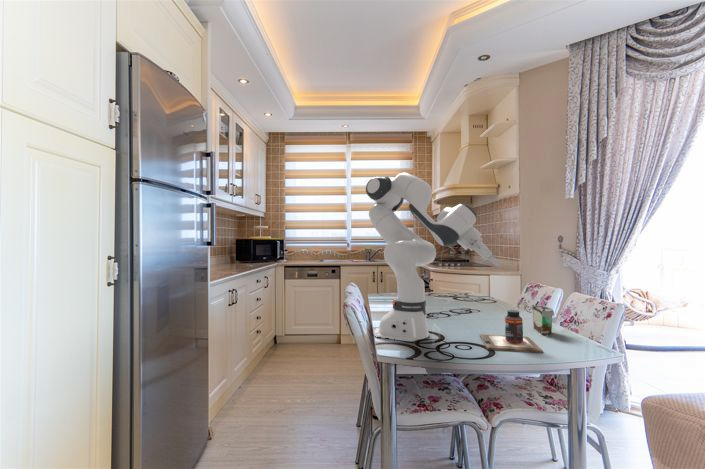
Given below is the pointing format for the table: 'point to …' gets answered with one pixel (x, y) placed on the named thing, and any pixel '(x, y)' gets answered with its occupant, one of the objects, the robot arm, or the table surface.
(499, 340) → the clipboard
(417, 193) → the robot arm
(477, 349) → the table surface
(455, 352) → the table surface
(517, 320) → the supplement bottle
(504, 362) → the table surface
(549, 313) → the food container
